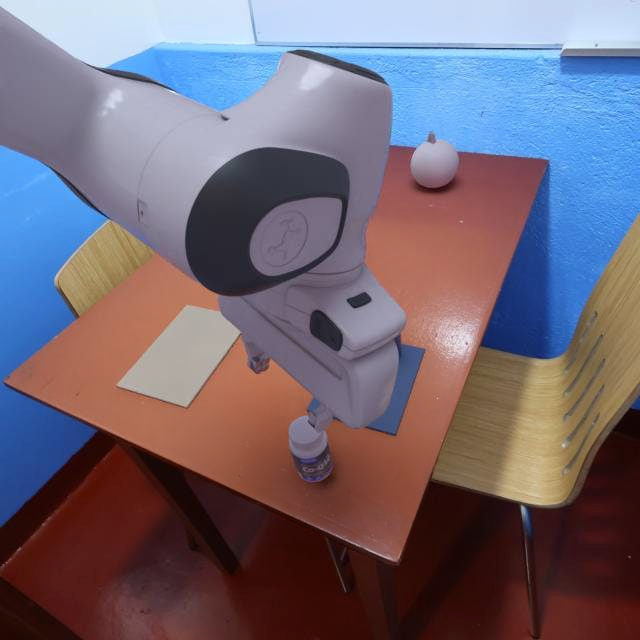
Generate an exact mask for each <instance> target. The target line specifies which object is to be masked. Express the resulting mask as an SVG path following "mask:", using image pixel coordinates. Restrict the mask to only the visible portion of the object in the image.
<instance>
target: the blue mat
mask: <svg viewBox="0 0 640 640" xmlns="http://www.w3.org/2000/svg"><path fill="white" fill-rule="evenodd" d="M425 352H426V348H424V347H419V346H414V345H410V344H405V343H401V358H400V360H399V364H398V371H397V376H396V380H395V385H394V389H393V392H392V396H391V399H390V402H389V405H388V407H387V409H386V411H385V412H384V413H383V414H382V415H381V416H380V417H379V418H378V419H376V420H375V421H374V422H372V423H371V424H369V425H368V426H366V427H365V428H367V429H370V430H373V431H377V432H380V433H384V434H388V435H391V436H395V437H396V435H397V432H398V430H399V428H400V425H401V421H402V420H403V419H402V418H403V416H404V412H405V410H406V407H407V405H408V401H409V398H410V396H411V392H412V389H413V386H414V383H415V381H416V378H417V375H418V372H419V370H420V366H421V363H422V361H423V357H424V354H425ZM320 405H321V403H320V402H319V401H318V400H317V399H316V398H315V397H314V396H312V398H311V400H310V402H309V404H308V406H307V408H306V412H308V413H310V411H312V410H314V409H318V407H319V406H320ZM333 419H334V420H336V421H339V422H340V421H341V420H340V419H338V418H337V417H336V416H335V415H333ZM333 419H332V420H333ZM341 422H342V421H341Z"/></svg>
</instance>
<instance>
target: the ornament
mask: <svg viewBox="0 0 640 640" xmlns="http://www.w3.org/2000/svg"><path fill="white" fill-rule="evenodd" d="M459 163H460V160H459V153H458V151H457V149H456V147H455V146H454V145H453V144H452V143H450V142H449V141H447V140H445V139H441V138H436V134H435V133H434V132H430V133H428V135H427V139H426V141H424V142H422V143H421V144H419V145H418V146H417V147H416V149H415V150H414V152H413V154H412V156H411V159H410V173H411V175H412V178H413V179H414V181H415V182H417V183H418V184H419V185H420V186H422V187H424V188H427V189H438V188H441V187H444V186H446V185H447V184H449V183H450V182H451V181H452V180H453V179H454V177H456V174H457V171H458V169H459V165H460V164H459Z"/></svg>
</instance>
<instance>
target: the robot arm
mask: <svg viewBox="0 0 640 640" xmlns="http://www.w3.org/2000/svg"><path fill="white" fill-rule="evenodd" d="M393 117H394V97H393V90H392V87H391V85H390V84H389V83H388V82H387V81H386V80H385V78H384V77H383V76H382V75H380V74H379V73H377V72H376V71H373V70H372V69H370V68H368V67H364V66H361V65H360V64H359V65H358V64H356V63H353V62H352V63H351V62H348V61H344V60H342V59H338V58H336V57H333V56H331V55H327V54H324V53H321V52H318V51H317V52H316V51H313V50H310V49H301V48H300V49H299V48H298V49H293V50H292V49H291V50H286V51H284V52H283V53H282V55H281V57H280V59H279V62H278V65H277V69H276V70H275V73H274V74H272V76H271V77H270V78H269V80H267V81H266V82H265V84H264V85H262V86H261V87H260V88H259V89H258V90H257V91H256V92H254V93H252V94H250V96H249V97H247V98H245V99H243V101H240V102H239V103H237V104H235V105H233V106H231V107H228V108H225V109H222V110H218V109H215V108H213V107H211V106H208V105H206V104H204V103H201V102H199V101H197V100H195V99H192V98H190V97H187V95H183V94H182V93H180V92H178V91H176V90H175V89H173V88H172V87H170V86H168V85H166V84H164V83H162V82H160V81H159V80H157V79H154V78H152V77H150V76H147V75H144V74H140V73H136V72H132V71H126V70H119V69H113V68H106V67H100V66H95V65H91V64H89V63H86V62H84V61H83V60H81V59H79V58H77V57H76V56H74V55H72V54H71V53H69V52H68V51H66V50H65V49H64V48H63V47H60V45H58V44H56V43H55V42H53V41H52V40H50V39H49V38H48V37H46V36H45V35H43V34H42V33H40V32H39V31H37V30H36V29H34V28H33V27H31V26H30V25H29V24H27V23H26V22H24V21H23V20H21V19H20V18H19V17H17V16H16V15H14V14H12V12H10V11H8V10H7V9H5V8H4V7H2V6H1V5H0V146H1V147H3V148H6V149H8V150H11V151H13V152H16V153H17V154H21V155H23V156H26V157H29V158H30V159H33V160H36V161H37V162H40V163H41V164H43V166H45V167H47V168H49V169H50V170H51V171H52V172H53V173H54V174H55V175H56V176H57V177H58V178H59V180H60V181H61V182H62V183H63V184H64V185H65V186H66V187H67V188H68V189H69V190H70V191H71V192H72V193H73V194H74V195H75V196H76V197H77V198H78V199H79V200H80V201H81V202H82V203H84V204H85V205H86V206H87V207H89V208H90V209H92V210H93V211H95V212H97V213H98V214H100V215H101V216H103V217H105V218H106V219H108V220H109V221H112V222H113V223H115V224H116V225H118V226H119V227H120V228H122V229H124V231H126V232H127V233H129V234H130V235H132V236H133V237H134V238H136V239H137V240H139V242H141V243H142V244H144V245H145V246H146V247H148V248H149V249H150V250H151V251H153V252H154V253H156V254H157V255H158V256H159V257H161V259H163V260H164V261H166V262H167V263H169V264H170V265H171V266H172V267H174V268H175V269H177V270H178V271H179V272H181V273H182V274H184V276H186V277H188V278H189V279H191V280H192V281H194V282H195V283H197V284H198V285H201V286H202V287H204V288H205V289H206V290H208V291H210V292H212V293H214V294H216V295H217V305H218V308H219V311H220V312H221V314H222V316H223V317H224V318H225V319H227V320H228V321H229V322H230V323H231V324H232V325H233V326H235V327H236V328H237V329H238V330H239V331H240V332H241V335H240V337H241V341H242V343H243V347H244V349H245V352H246V355H247V362H246V363H247V364H246V366H247V368H248V369H250V370H251V371H252V372H253V373H254V374H255V375H260V374H261V373H264V372H266V371H268V369H269V368H270V361H271V360H272V361H273V362H274V363H275V364H276V365H278V367H280V368H281V370H283V372H285V373H286V374H287V375H289V377H291V378H292V379H293V380H294V381H295V382H297V383H298V384H299V385H300V386H301V387H302V388H303V389H304V390H305V391H307V392H308V393H309V394H310V395H311V396H312V397H313V396H314V397H315V398H316V399H317V400H318V401H319V402H320V403H321V405H320V406H319V407H318V409H314V410H312V411H310V412H308V416H309V420H308V423H309V424H310V425H311V426H312V427H313V428H314V429H315V430H316V431H317V432H318V433H320V432H322V431H325V430H327V429H328V428H330V426H331V425H332V422H333V415H335V416H336V417H337V418H338V419H340V420H341V422H342V423H343V424H344V425H345V426H346V428H348V429H350V430H361V429H363V428H366V426H368V425H369V424H371V423H372V422H374V421H375V420H376V419H378V418H379V417H380V416H381V415H382V414H383V413H384V412H385V411H386V409H387V407H388V405H389V402H390V399H391V396H392V392H393V389H394V385H395V380H396V376H397V371H398V364H399V353H398V349H397V346H396V343H395V341H394V340H393V339H394V338H395V337H396V336H398V335H399V334H400V333H401V334H402V333H403V332H404V330H405V328H406V325H407V322H408V321H407V320H408V317H407V314H406V312H405V310H404V309H403V307H401V305H400V304H399V303H398V302H397V301H395V299H394V298H393V296H391V295H390V294H389V292H388V291H387V290H386V289H385V288H384V286H383V285H382V284H381V283H380V281H379V280H378V279H377V278H376V276H375V275H374V273H373V272H372V270H371V268H370V267H369V266H368V265H367V264H366V263H365V261H366V257H367V250H368V249H367V230H368V226H369V223H370V221H371V219H372V218H373V216H374V214H375V212H376V210H377V208H378V206H379V202H380V198H381V194H382V190H383V185H384V180H385V175H386V171H387V165H388V161H389V160H388V159H389V153H390V147H391V139H392V132H393V130H392V129H393V120H394V118H393ZM340 420H339V421H340Z"/></svg>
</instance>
